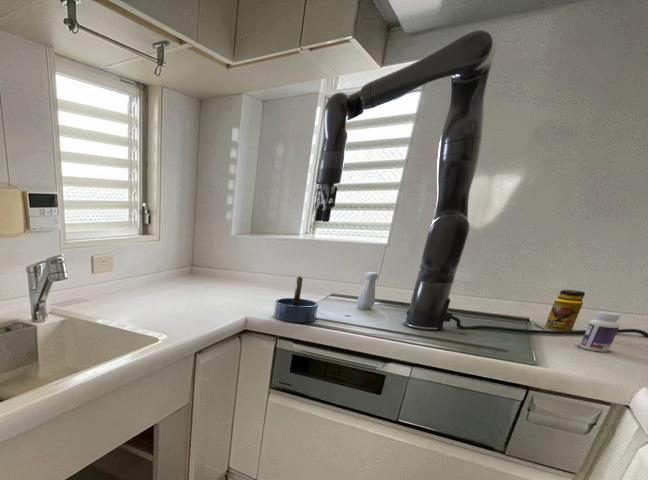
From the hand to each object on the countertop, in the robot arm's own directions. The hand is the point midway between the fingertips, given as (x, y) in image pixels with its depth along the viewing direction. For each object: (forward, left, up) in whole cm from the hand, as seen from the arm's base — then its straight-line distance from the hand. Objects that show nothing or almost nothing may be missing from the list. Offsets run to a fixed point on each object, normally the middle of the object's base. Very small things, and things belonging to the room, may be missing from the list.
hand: (321, 221), depth 136 cm
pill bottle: (-72, +20, -30) cm, 81 cm away
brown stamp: (+4, +17, -30) cm, 34 cm away
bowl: (+4, +17, -30) cm, 35 cm away
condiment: (-73, -1, -30) cm, 79 cm away
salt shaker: (-20, -10, -30) cm, 38 cm away
